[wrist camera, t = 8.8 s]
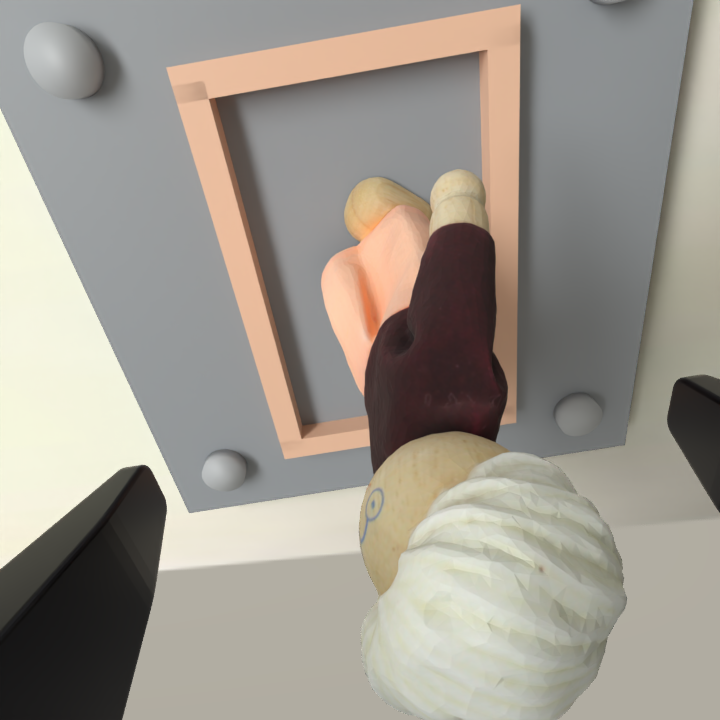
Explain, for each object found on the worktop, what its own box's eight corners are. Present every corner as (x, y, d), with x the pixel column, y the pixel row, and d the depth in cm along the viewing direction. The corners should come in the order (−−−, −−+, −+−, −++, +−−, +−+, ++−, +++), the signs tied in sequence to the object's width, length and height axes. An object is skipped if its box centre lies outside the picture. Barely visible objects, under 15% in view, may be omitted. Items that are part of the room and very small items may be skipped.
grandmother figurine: (306, 144, 14) (229, 426, 3) (444, 134, 14) (908, 365, 3) (333, 378, 18) (345, 883, 7) (440, 368, 18) (628, 853, 7)
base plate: (679, -151, 12) (747, -194, 10) (606, 422, 21) (635, 458, 19) (-25, -21, 13) (-91, -38, 11) (197, 486, 22) (184, 528, 20)
